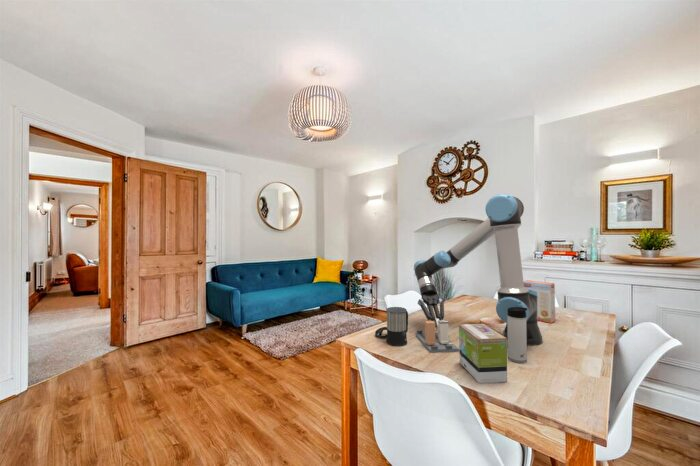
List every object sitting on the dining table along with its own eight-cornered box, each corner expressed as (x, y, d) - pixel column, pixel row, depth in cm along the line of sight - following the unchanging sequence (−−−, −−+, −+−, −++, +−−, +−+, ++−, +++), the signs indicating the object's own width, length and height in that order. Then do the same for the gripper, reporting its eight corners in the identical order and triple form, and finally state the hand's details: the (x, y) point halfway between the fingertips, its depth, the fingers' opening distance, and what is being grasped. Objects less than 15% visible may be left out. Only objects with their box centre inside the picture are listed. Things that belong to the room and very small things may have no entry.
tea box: (458, 363, 109) (457, 323, 109) (484, 362, 109) (484, 322, 109) (478, 384, 93) (477, 337, 94) (508, 382, 94) (508, 336, 94)
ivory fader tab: (437, 341, 126) (437, 320, 126) (446, 341, 126) (446, 320, 126) (440, 343, 123) (440, 322, 123) (449, 343, 123) (448, 322, 123)
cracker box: (555, 321, 157) (555, 283, 157) (550, 323, 154) (550, 284, 154) (527, 315, 169) (527, 279, 169) (522, 317, 165) (522, 280, 165)
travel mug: (527, 365, 106) (527, 310, 106) (507, 361, 110) (506, 308, 110) (527, 358, 111) (527, 306, 112) (508, 355, 115) (507, 304, 115)
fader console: (415, 335, 138) (415, 312, 138) (440, 334, 139) (439, 312, 139) (430, 352, 118) (429, 326, 118) (458, 351, 119) (458, 325, 119)
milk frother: (405, 347, 123) (405, 312, 123) (369, 343, 129) (369, 309, 129) (410, 336, 137) (409, 304, 137) (377, 333, 142) (377, 302, 142)
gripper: (438, 292, 147) (452, 337, 130) (412, 292, 146) (423, 338, 129) (442, 283, 141) (457, 329, 125) (415, 284, 141) (427, 330, 124)
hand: (440, 333), depth 127 cm, fingers closed
